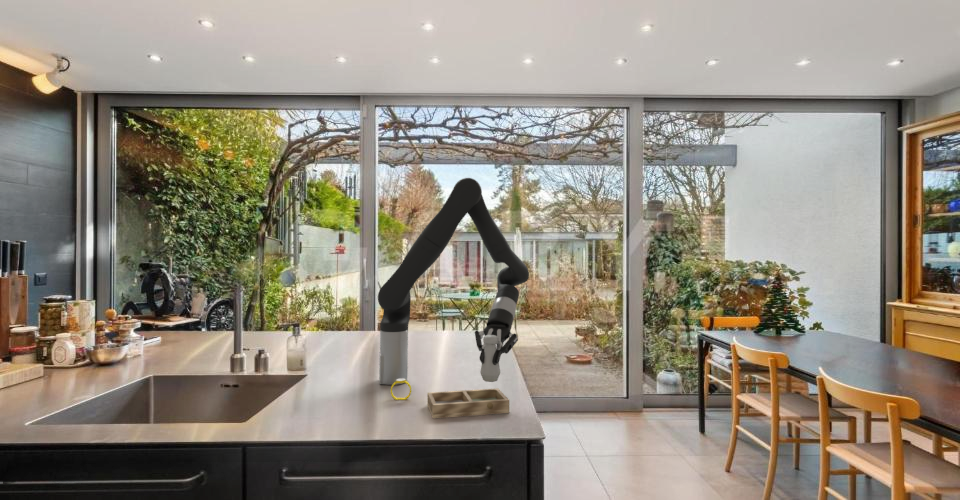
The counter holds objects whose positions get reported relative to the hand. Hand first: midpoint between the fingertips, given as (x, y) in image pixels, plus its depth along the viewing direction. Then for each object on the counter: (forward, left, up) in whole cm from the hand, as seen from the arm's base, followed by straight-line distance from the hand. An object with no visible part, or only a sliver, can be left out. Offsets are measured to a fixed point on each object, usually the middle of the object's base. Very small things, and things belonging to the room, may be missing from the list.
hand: (488, 362), depth 134 cm
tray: (-6, -2, -12) cm, 14 cm away
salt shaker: (+1, +2, -6) cm, 6 cm away
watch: (-24, +10, -12) cm, 29 cm away
